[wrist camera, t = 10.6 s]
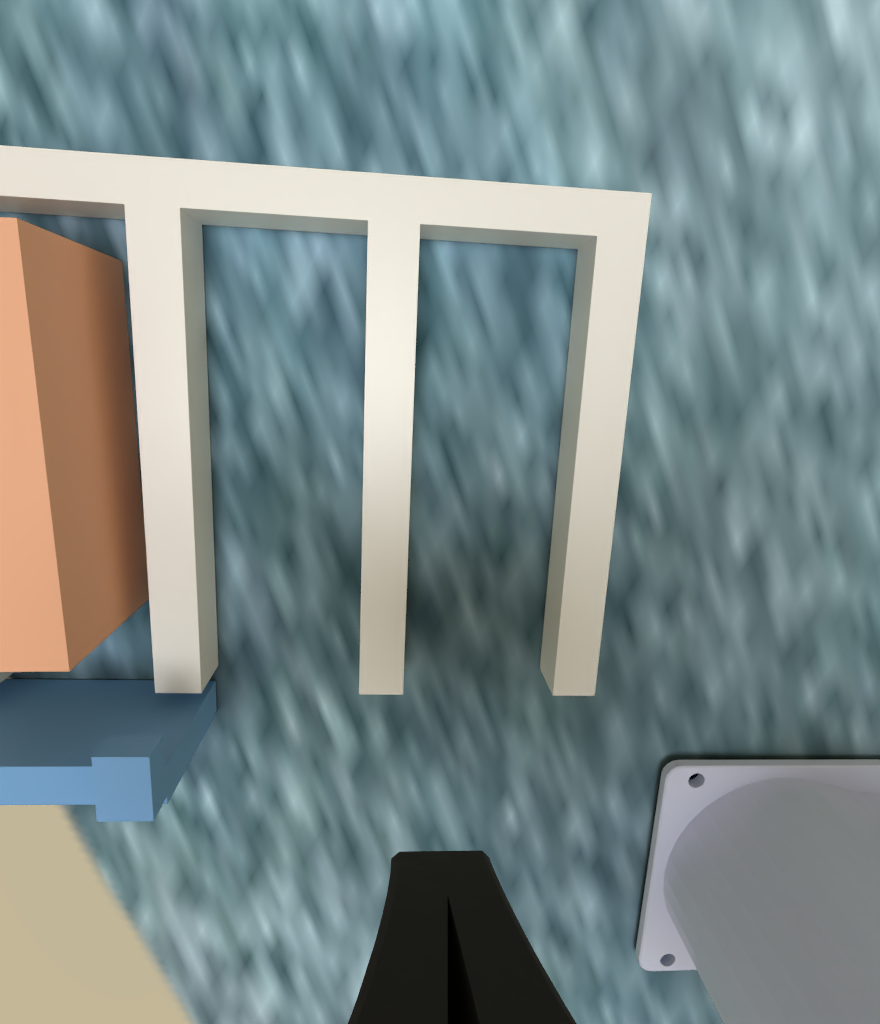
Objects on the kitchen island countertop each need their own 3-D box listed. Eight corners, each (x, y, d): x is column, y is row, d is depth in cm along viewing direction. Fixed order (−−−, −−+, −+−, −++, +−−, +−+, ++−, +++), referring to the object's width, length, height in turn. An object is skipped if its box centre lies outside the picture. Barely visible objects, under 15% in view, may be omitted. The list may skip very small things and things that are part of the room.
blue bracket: (214, 655, 18) (148, 757, 13) (216, 711, 18) (154, 828, 13) (-16, 653, 17) (-170, 757, 13) (-9, 710, 18) (-156, 832, 13)
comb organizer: (626, 210, 16) (651, 193, 14) (578, 668, 19) (594, 695, 17) (-86, 160, 14) (-143, 135, 13) (-19, 662, 17) (-61, 691, 16)
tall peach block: (124, 262, 15) (16, 217, 11) (151, 596, 17) (69, 671, 13) (0, 256, 15) (-161, 209, 11) (42, 596, 17) (-79, 672, 13)
